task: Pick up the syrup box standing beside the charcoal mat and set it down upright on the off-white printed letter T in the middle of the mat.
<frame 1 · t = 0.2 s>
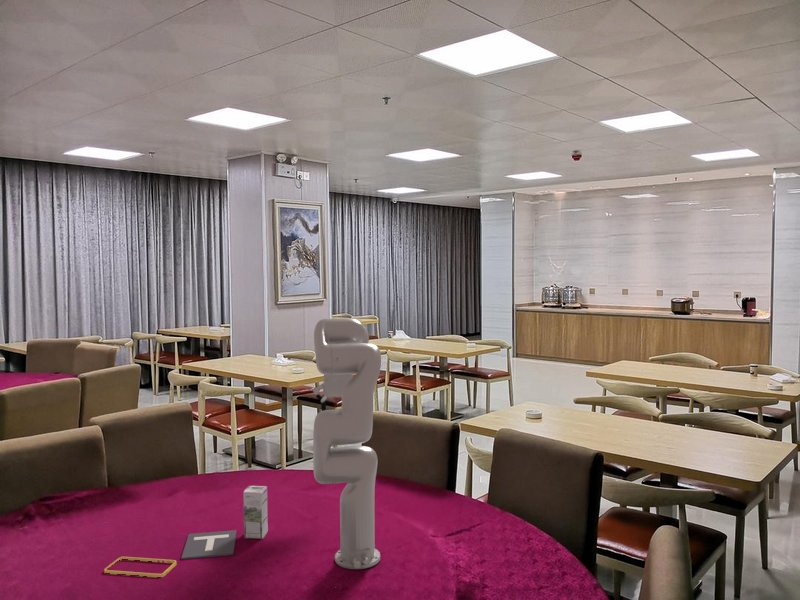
hand: (338, 412, 217), 31 cm above the table, tool pointing down, fingers open, 9 cm apart
letter mat: (210, 544, 184), on the table
phone case: (141, 570, 170), on the table
syrup box: (256, 536, 191), on the table
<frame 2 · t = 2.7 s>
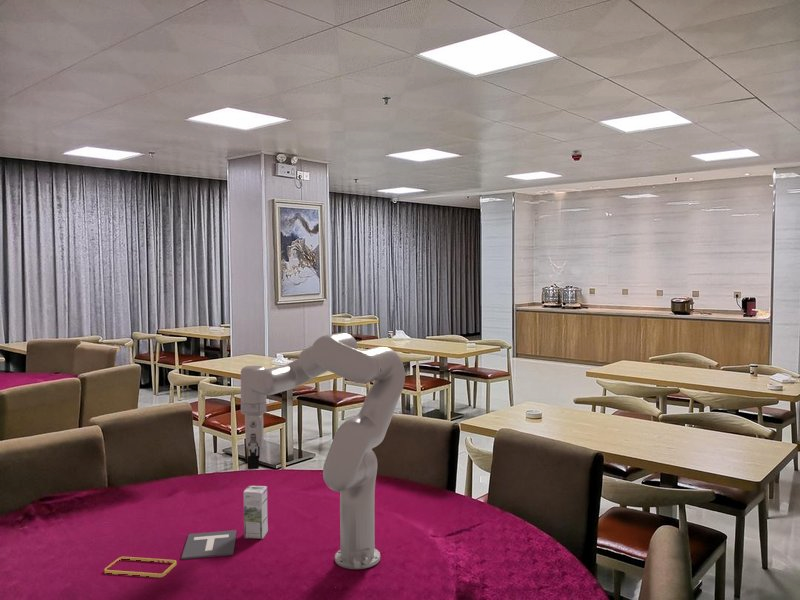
hand: (253, 463, 190), 22 cm above the table, tool pointing down, fingers open, 9 cm apart
nothing on the table moved.
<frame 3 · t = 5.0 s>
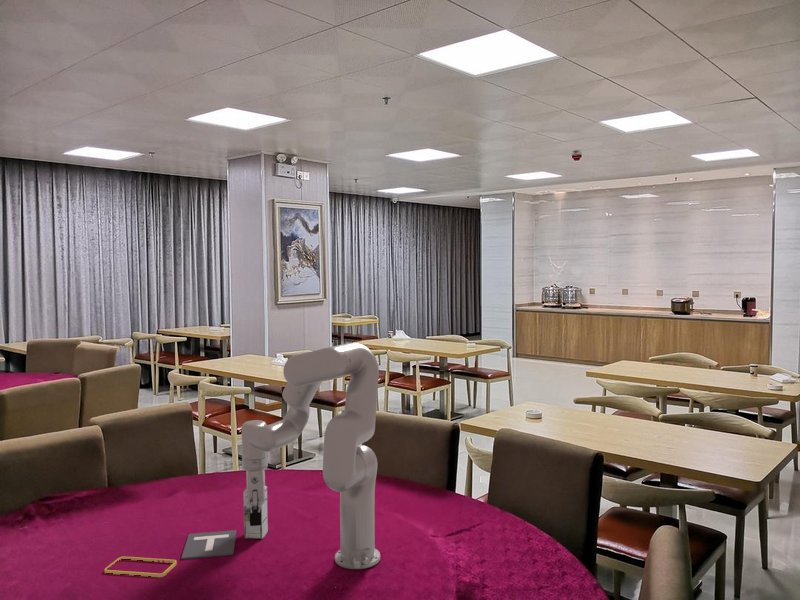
hand: (255, 519, 191), 5 cm above the table, tool pointing down, fingers closed on syrup box, 7 cm apart
syrup box: (256, 535, 191), on the table, touching gripper
everything else where it was.
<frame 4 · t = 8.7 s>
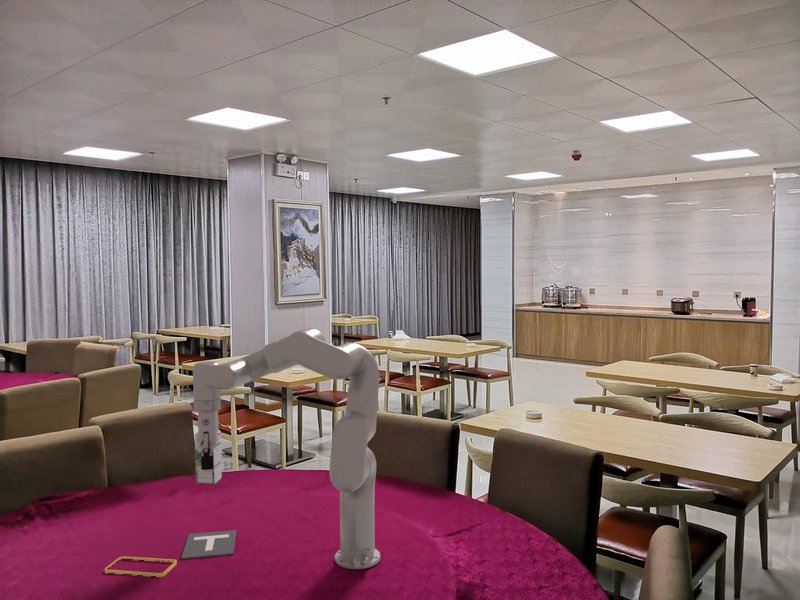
hand: (208, 464, 183), 24 cm above the table, tool pointing down, fingers closed on syrup box, 7 cm apart
syrup box: (208, 481, 183), point 19 cm above the table, touching gripper
everything else where it was.
when the fingers open (7 cm above the table, at t = 12.6 s): syrup box drops 1 cm, resting on letter mat.
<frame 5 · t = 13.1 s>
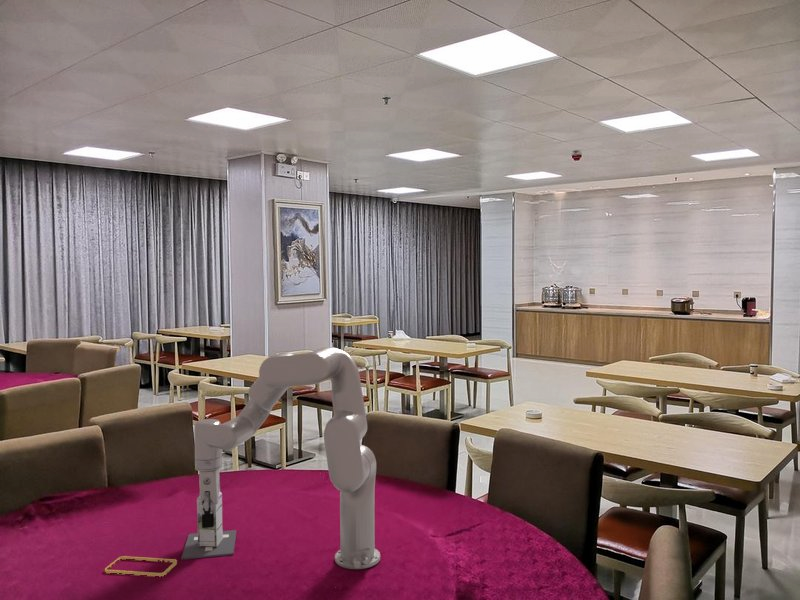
hand: (209, 520, 184), 7 cm above the table, tool pointing down, fingers open, 9 cm apart
syrup box: (210, 544, 184), resting on letter mat
everything else where it was.
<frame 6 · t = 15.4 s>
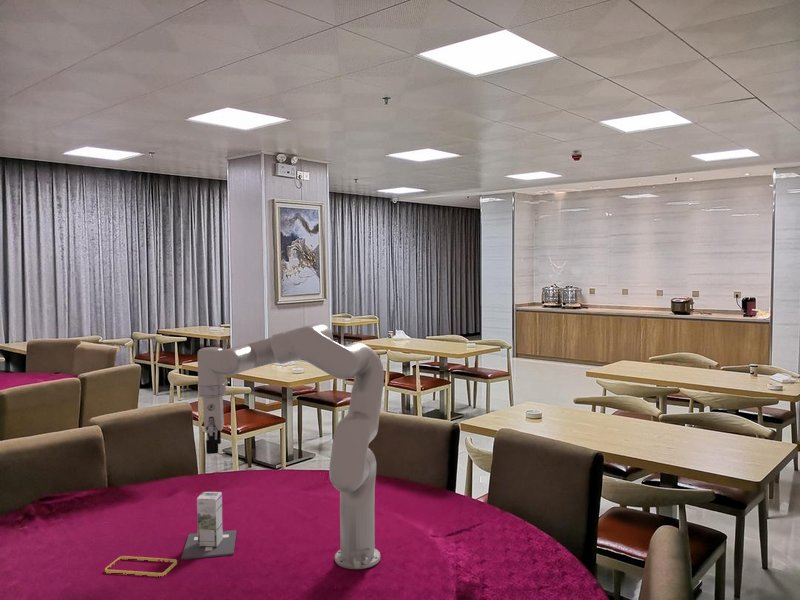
hand: (213, 448, 183), 28 cm above the table, tool pointing down, fingers open, 9 cm apart
nothing on the table moved.
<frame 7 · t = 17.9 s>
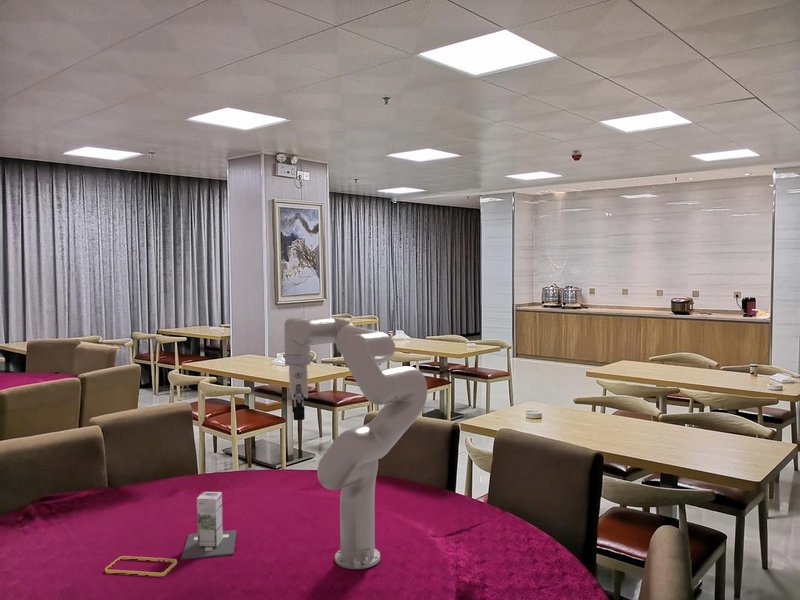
hand: (298, 416, 190), 36 cm above the table, tool pointing down, fingers open, 9 cm apart
nothing on the table moved.
at the end: syrup box 0.4 cm off-centre on the letter mat, point 0.4 cm above the letter mat's base; syrup box tilted 0°; the gripper is holding nothing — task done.
